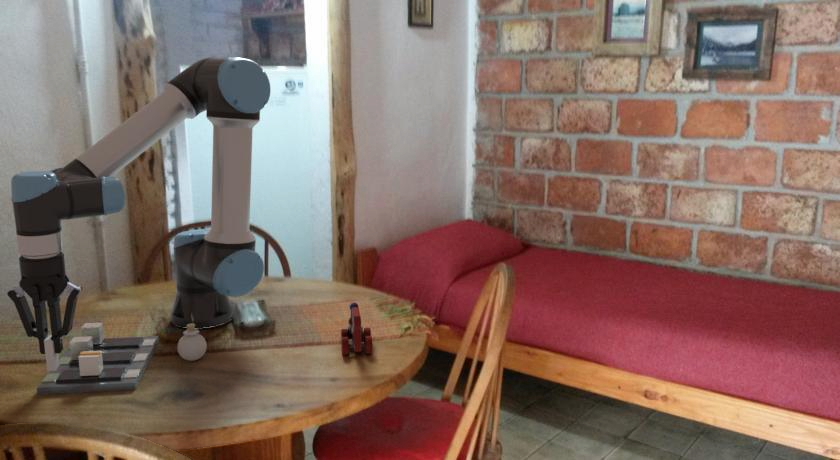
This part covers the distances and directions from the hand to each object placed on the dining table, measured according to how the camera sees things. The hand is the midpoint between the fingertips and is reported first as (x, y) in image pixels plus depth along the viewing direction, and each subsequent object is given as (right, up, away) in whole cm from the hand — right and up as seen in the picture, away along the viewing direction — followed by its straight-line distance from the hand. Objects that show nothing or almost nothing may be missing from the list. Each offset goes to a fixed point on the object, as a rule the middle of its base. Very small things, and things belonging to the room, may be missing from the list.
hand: (53, 367), depth 134 cm
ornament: (+23, -1, +15) cm, 27 cm away
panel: (+5, -2, +10) cm, 11 cm away
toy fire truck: (+58, 0, +22) cm, 62 cm away
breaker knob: (+7, -1, +2) cm, 7 cm away
